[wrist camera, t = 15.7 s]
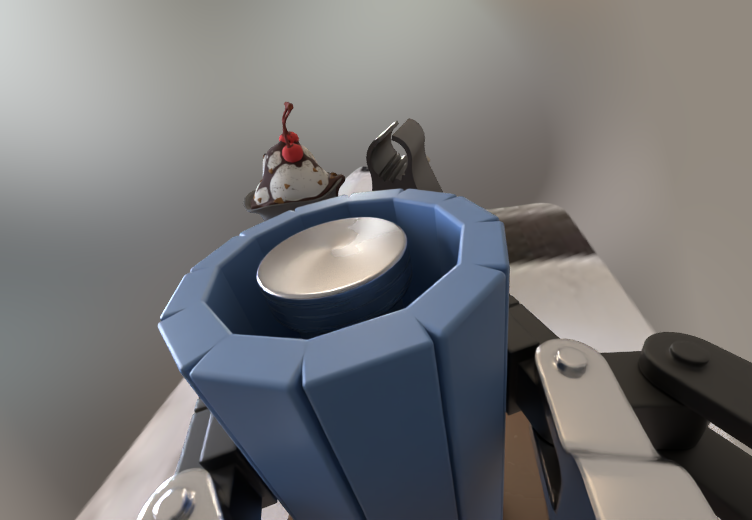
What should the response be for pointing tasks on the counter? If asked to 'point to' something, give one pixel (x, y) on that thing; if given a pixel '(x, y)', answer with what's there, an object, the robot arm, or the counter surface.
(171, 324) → the blue sleeve
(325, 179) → the sundae
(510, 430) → the wooden base post
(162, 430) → the counter surface
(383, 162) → the phone stand
